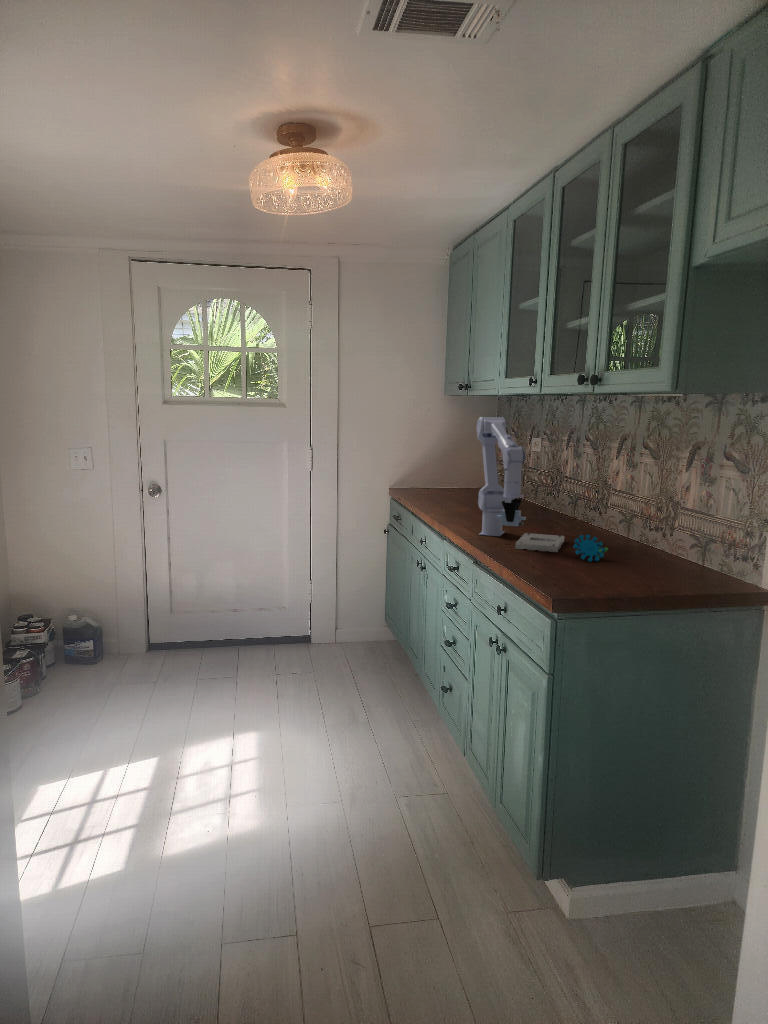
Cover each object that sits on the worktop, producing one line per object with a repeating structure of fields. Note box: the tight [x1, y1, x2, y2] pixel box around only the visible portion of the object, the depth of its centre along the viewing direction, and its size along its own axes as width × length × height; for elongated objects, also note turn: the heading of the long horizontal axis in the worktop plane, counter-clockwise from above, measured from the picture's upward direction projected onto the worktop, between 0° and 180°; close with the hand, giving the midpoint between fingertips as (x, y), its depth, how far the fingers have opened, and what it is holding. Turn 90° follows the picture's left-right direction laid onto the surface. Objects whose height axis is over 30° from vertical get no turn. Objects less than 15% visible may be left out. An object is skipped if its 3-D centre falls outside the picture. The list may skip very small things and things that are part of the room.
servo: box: [496, 509, 527, 527], centre depth 237 cm, size 4×10×5 cm, turn 69°
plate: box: [514, 532, 565, 553], centre depth 238 cm, size 20×14×2 cm
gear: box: [573, 534, 609, 563], centre depth 217 cm, size 11×6×10 cm
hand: (511, 520), depth 237 cm, fingers closed on servo, 4 cm apart
